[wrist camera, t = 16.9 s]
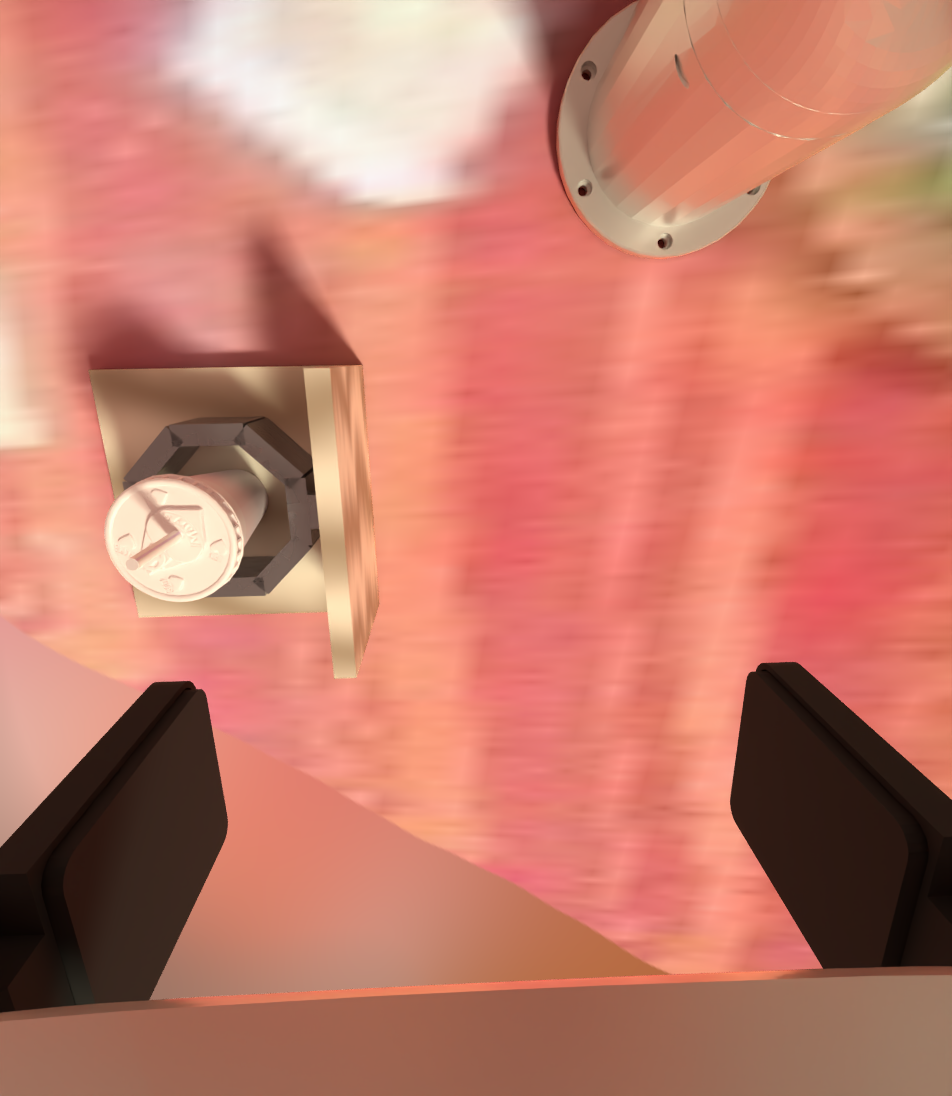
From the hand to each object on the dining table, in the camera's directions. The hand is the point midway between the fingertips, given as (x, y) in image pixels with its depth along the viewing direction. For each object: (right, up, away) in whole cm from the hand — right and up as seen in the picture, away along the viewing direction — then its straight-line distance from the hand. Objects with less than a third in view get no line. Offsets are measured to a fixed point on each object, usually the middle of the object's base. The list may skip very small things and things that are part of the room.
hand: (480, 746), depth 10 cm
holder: (-15, +7, +29) cm, 33 cm away
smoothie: (-15, +7, +28) cm, 33 cm away
